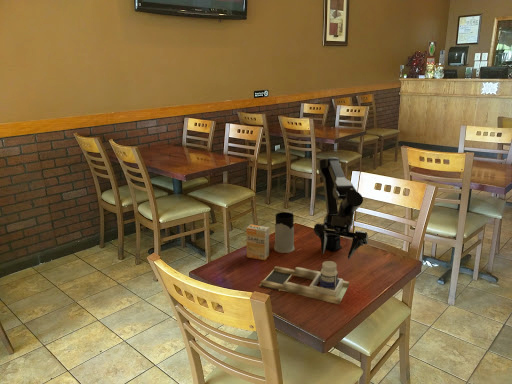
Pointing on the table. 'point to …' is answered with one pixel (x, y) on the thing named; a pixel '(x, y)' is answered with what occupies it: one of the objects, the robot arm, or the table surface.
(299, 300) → the table surface
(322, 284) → the pill bottle
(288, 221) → the glass holder
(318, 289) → the collar carriage
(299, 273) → the oak channel
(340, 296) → the pad
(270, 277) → the tray
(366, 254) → the table surface
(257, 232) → the supplement box
